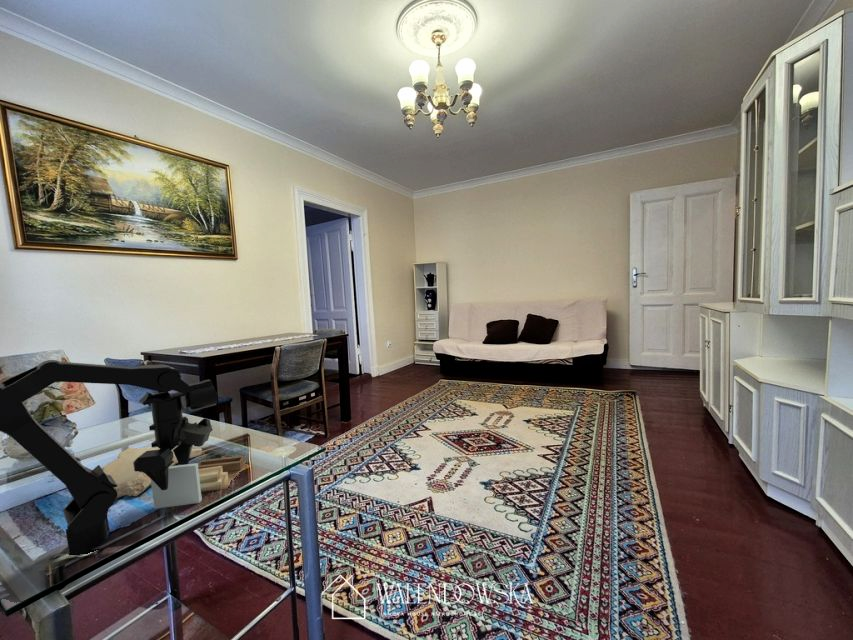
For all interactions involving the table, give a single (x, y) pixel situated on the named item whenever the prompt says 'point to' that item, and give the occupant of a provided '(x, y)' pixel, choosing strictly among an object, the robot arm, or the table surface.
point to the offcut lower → (215, 483)
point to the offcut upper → (210, 474)
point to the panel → (178, 487)
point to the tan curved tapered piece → (126, 475)
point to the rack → (225, 467)
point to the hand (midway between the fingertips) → (175, 478)
